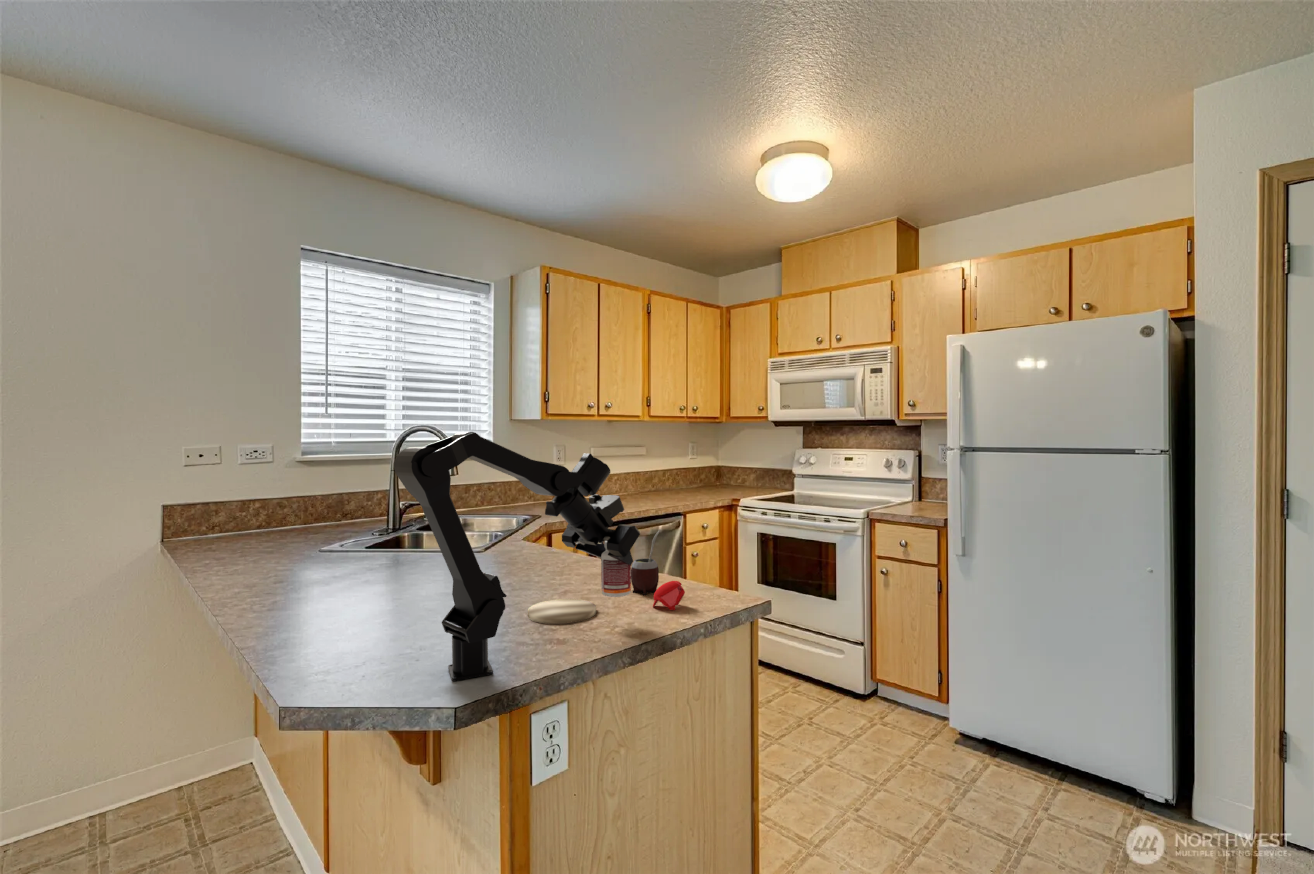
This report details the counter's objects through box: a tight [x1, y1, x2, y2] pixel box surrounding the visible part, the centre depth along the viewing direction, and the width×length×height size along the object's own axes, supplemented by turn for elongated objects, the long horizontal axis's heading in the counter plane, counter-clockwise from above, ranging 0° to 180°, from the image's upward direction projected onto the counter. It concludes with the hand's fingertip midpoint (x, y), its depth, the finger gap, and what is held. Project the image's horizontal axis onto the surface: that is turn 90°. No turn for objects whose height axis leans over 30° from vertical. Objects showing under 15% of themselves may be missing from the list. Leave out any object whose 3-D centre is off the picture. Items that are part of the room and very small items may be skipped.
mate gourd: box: [631, 529, 661, 596], centre depth 149 cm, size 8×8×15 cm
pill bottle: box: [600, 541, 632, 598], centre depth 123 cm, size 6×6×11 cm
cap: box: [652, 580, 686, 611], centre depth 135 cm, size 8×6×6 cm
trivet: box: [527, 598, 597, 625], centre depth 131 cm, size 15×15×1 cm
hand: (620, 561), depth 124 cm, fingers closed on pill bottle, 6 cm apart
